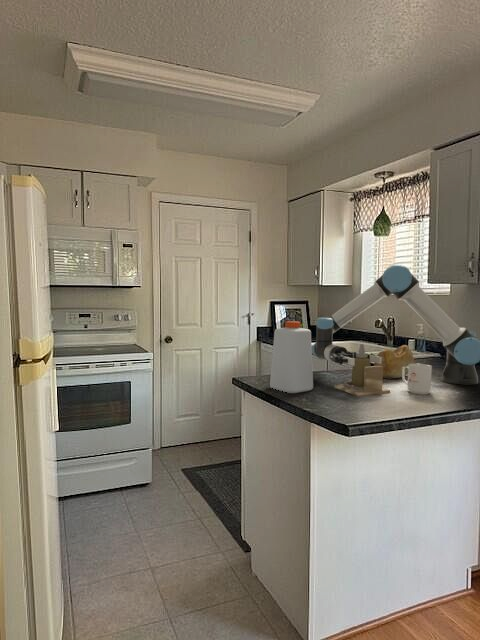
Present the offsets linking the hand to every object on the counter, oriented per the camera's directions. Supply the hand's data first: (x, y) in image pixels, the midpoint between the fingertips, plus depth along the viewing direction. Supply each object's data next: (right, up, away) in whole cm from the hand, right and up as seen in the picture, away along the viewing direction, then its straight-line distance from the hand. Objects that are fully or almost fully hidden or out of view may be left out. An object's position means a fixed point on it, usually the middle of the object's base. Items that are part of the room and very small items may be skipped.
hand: (367, 361), depth 181 cm
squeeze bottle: (-2, -11, +4) cm, 12 cm away
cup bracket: (-2, -12, +4) cm, 13 cm away
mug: (+20, -13, +3) cm, 24 cm away
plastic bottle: (-31, -12, +4) cm, 33 cm away
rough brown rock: (+21, -11, +37) cm, 44 cm away
